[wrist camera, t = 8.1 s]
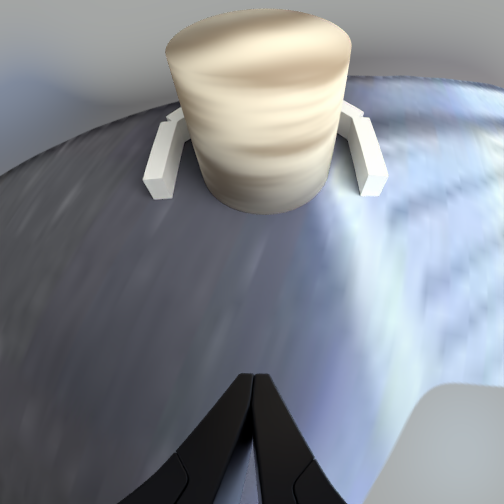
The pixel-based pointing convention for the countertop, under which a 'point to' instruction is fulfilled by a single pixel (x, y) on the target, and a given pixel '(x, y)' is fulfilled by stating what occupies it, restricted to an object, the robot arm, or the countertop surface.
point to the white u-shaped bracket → (350, 127)
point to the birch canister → (261, 103)
